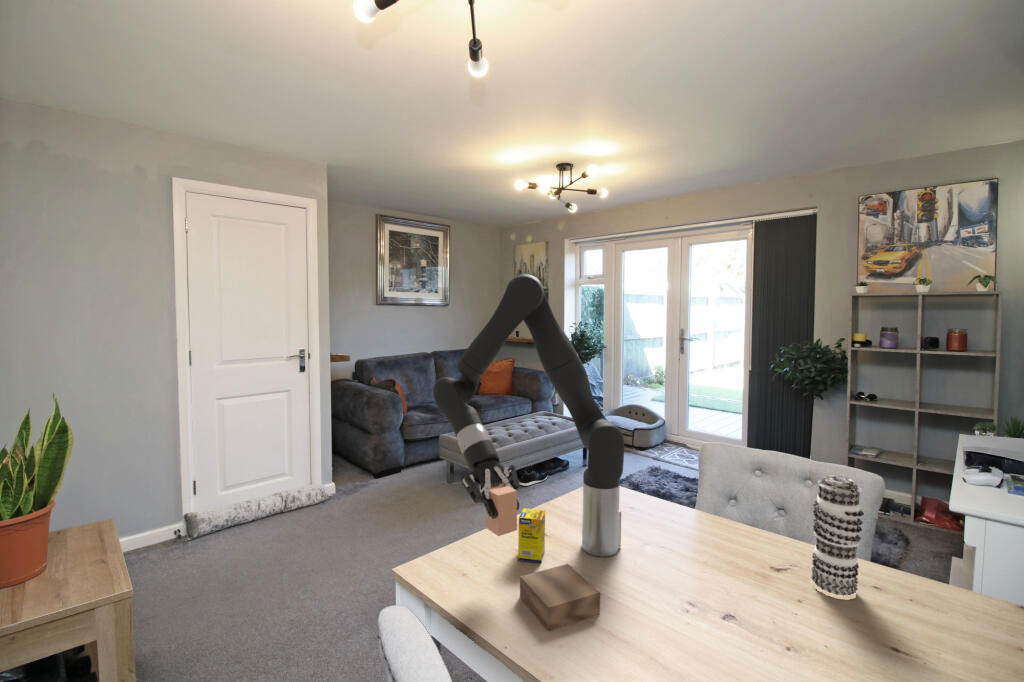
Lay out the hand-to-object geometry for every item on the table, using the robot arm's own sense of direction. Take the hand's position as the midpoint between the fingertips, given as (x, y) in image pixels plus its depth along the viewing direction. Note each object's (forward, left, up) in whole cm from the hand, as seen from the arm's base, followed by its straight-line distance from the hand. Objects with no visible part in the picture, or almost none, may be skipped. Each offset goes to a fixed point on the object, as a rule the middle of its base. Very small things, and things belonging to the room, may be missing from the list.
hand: (506, 513), depth 106 cm
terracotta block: (0, -2, -4) cm, 5 cm away
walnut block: (-5, +12, -17) cm, 21 cm away
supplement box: (-13, -7, -17) cm, 22 cm away
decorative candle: (-59, +43, -17) cm, 75 cm away
